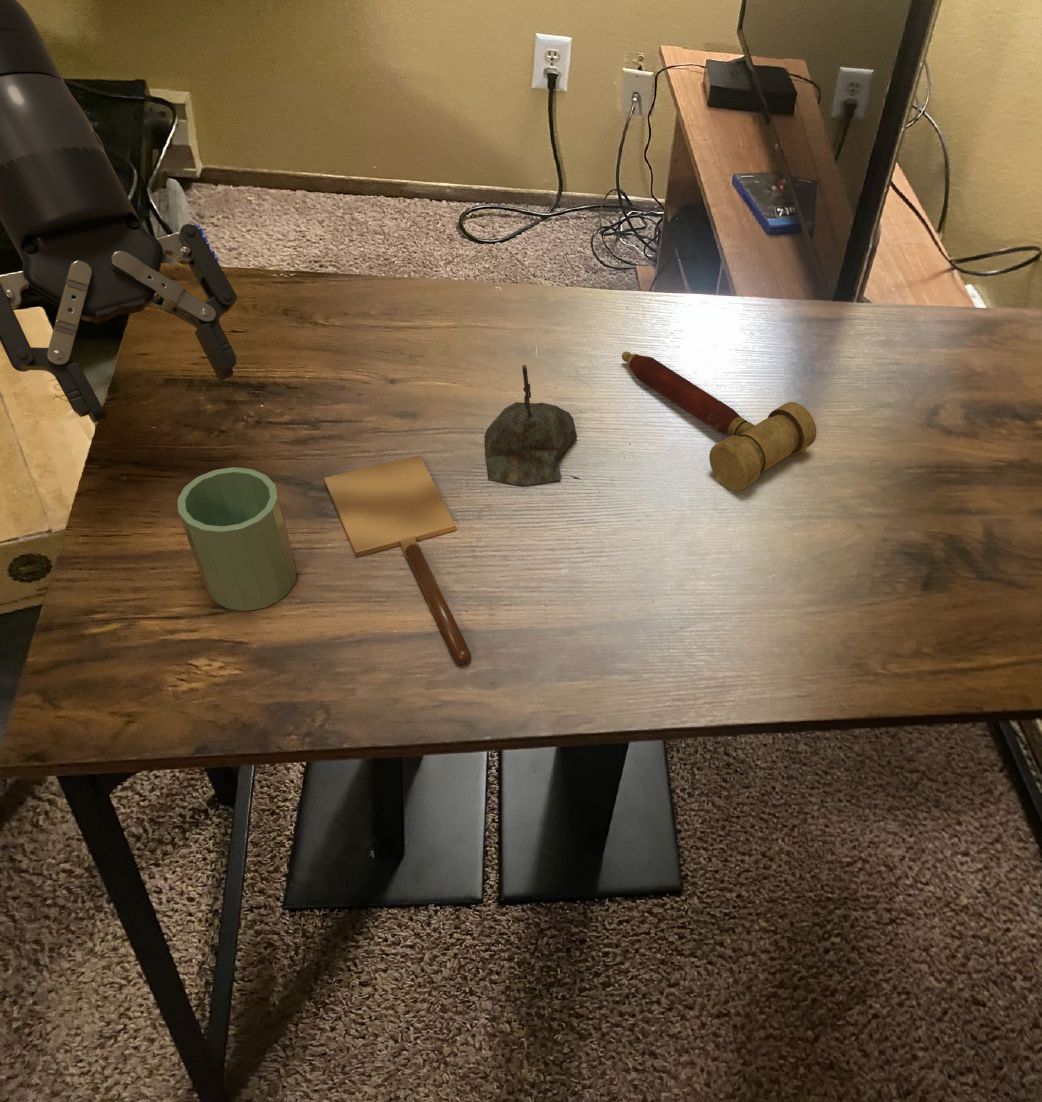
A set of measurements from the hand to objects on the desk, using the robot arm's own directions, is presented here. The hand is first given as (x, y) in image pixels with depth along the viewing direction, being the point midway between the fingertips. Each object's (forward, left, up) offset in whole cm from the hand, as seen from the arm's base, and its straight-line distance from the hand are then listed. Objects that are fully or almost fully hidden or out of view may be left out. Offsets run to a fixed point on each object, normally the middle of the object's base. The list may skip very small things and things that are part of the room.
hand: (165, 397), depth 69 cm
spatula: (+17, -2, -12) cm, 21 cm away
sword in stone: (+23, +12, -12) cm, 29 cm away
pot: (+5, -6, -12) cm, 14 cm away
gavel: (+38, +19, -12) cm, 45 cm away
